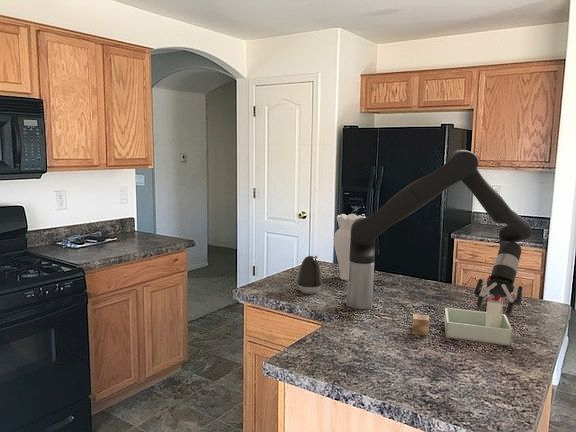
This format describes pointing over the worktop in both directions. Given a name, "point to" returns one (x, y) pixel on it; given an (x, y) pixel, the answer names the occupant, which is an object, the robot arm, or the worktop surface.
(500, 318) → the shaker
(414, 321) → the oak block
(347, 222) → the vase
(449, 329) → the box
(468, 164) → the robot arm
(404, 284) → the worktop surface
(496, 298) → the soda can
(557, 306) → the worktop surface
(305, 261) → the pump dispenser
